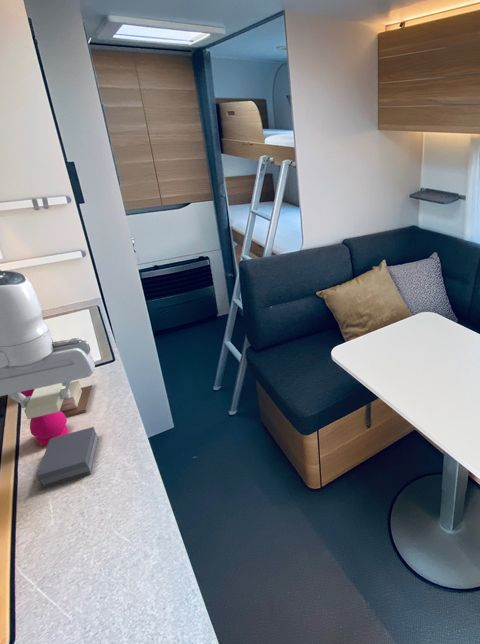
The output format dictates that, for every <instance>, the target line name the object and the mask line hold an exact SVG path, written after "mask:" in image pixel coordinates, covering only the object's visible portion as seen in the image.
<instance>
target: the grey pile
mask: <svg viewBox="0 0 480 644" xmlns="http://www.w3.org/2000/svg"><path fill="white" fill-rule="evenodd" d="M98 443H99V436H98V434H97V432H96V429H95V427H94V426H92V427H91V426H90V427H87V428H85V429H84V428H83V429H80V430H76V431H73V432H68V434H65V435H62V436H58V437H54V438H51V439H50V440H49V443H48V445H46V449H45V451H44V453H43V457H42V460H41V462H40V465H39V468H38V471H37V473H36V478H37V481H40V482H41V489H42V490H44V489H47V488H51V487H54V486H57V485H60V484H64V483H67V482H70V481H73V480H76V479H79V478H83V477H86V476H90V475H92V471H93V466H94V461H95V457H96V451H97V448H98V447H97V446H98Z"/></svg>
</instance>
